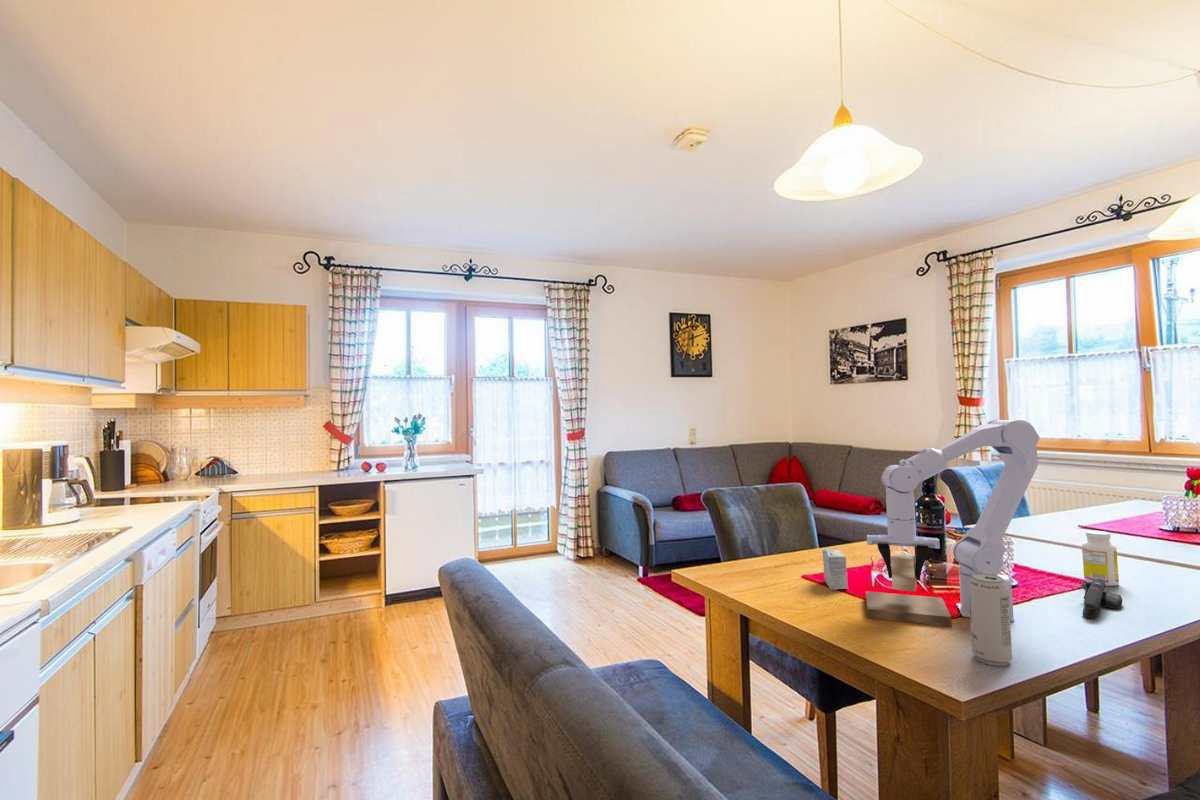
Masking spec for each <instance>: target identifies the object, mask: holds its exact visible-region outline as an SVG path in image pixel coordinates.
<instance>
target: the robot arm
mask: <svg viewBox="0 0 1200 800" xmlns="http://www.w3.org/2000/svg"><path fill="white" fill-rule="evenodd" d="M1040 439H1041V437H1040V435H1039V434H1038V432H1037V431H1036V429H1035V427H1034V426H1033V425H1032V423H1030V422H1028V421H1027V420H1024V419H1023V420H1022V419H1014V420H1013V419H1011V420H1010V419H1009V420H1008V419H1006V420H1005V419H998V418H997V419H991V420H989V421H988V422H987V423H983V424H980V425H978V426H976V427H974V428H973V429H971V430H970V431H969V432H966V433H964V434H962V435H961V436H959V437H958V438H956V439H954V440H952V441H951V442H948V444H946V445H944V446H942V447H940V448H938V449H936V448H933V447H928V448H925V447H922V448H920V449H919V450H917V451H918V453H917V454H915V455H912V456H911V457H909V458H907V459H905V458H903V459H900V460H899V465H898V464H893V465H892V464H891V465H888V466H887V467H886V468H885V469H884V471H883V472H882V475H881V476H880V480H881V482H882V484H883V485H884V487H885V502H886V503H885V504H886V505H885V506H886V522H887V523H886V524H887V534H867V535H866V544H867V546H873V545H876V546H877V549H878V552H879V553H880V556H881V558H882V559H883V561H884V564H885V567H886V569H887V575H888V579H892V568H891V557H892V555H891V546H896V547H897V546H898V547H912V548H913V547H914V556H915V574H916V581H921V575H922V571H923V567H924V566H925V565H924V564H925V562H926V560H927V558H928V556H929V554H930V549H929V548H931V549H936V550H937V549H938V550H939V549H941V545H940V539H939V538H937V537H929V536H928V537H926V536H917V526H916V525H917V524H916V510H915V496H914V492H915V491H914V490H915V489H916V488H917V487H918V485H919V483H922V482H924V481H925V480H928V479H930V478H931V477H933V476H936V475H937V474H940V473H941V472H943V471H945V470H947V469H946V468H947V465H948V462H950V461H953V460H955V459H957V458H960V457H962V456H964V455H965V454H968V453H971V452H972V451H974V450H977V449H979V448H983V447H991V448H992V449H993V450H995V452H997V453H998V454H999V456H1000V458H1001V459H1002V461H1003V463H1004V466H1003V468H1002V470H1001V472H1000V474H999V476H998V479H997V480H996V482H995V485H994V487H993V489H992V491H991V493H990V496H989V497H988V499H987V501H986V504H985V505H984V506H983V509H982V511H981V513H980V516H979V518H978V520H977V521H976V524H975V526H973V527H972V528H970V529H969V530H967V531H966V532H965V533H964V535H963V537H962V538H961V539H959V540H958V541H957V542H956V543H955V544H954V545H953V549H952V555H953V557H954V559H955V560H956V562H957V563H959V567H958V575H959V577H958V578H959V579H958V580H959V596H960V602H959V603H956V604H955V605H956V607H957V606H958V607H957V609H958V608H959V609H958V611H959V610H960V611H959V612H960V614H961V616H962V617H965V618H970V603H969V583H970V581H971V579H972V575H973V574H991V575H996V576H999V577H1002V578H1003V579H1004V583H1005V585H1006V586H1007V588H1008V591H1009V609H1010V622H1015V618H1014V605H1013V604H1014V603H1013V590H1012V582H1011V580H1010V577H1009V576H1008V575H1005V574H999V573H1000V572H1002V569H1003V567H1004V554H1005V552H1006V550H1007V548H1006V545H1005V542H1004V539H1003V538H1004V535H1005V534H1006V532H1007V529H1008V527H1009V526H1010V523H1011V522H1012V519H1013V518H1014V516H1015V513H1016V511H1017V509H1018V508H1019V505H1020V503H1021V501H1022V500H1023V497H1024V495H1025V493H1026V491H1027V489H1028V487H1029V486H1030V485H1029V484H1030V482H1031V481H1032V480H1033V476H1034V475H1035V473H1036V470H1037V468H1038V466H1039V465H1038V464H1039V461H1038V445H1037V444H1038V442H1039V441H1040Z"/></svg>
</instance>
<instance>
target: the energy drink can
mask: <svg viewBox="0 0 1200 800" xmlns="http://www.w3.org/2000/svg"><path fill="white" fill-rule="evenodd" d="M969 603H970V617H969V619H970V635H971V637H970V639H971V652H972V654H973V655H974V656H975V659H976V660H977V661H980V662H982V663H983V664H986V665H991V666H996V667H997V666H998V667H1005V666H1008V665H1009V663H1010V662H1011V661H1012V660H1013V647H1012V646H1013V645H1012V631H1011V621H1010V609H1009V591H1008V588H1007V586H1006V585H1005V583H1004V579H1003V578H1002V577H999V576H996V575H991V574H973V575H972V579H971V581H970V583H969Z"/></svg>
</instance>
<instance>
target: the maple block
mask: <svg viewBox="0 0 1200 800" xmlns="http://www.w3.org/2000/svg"><path fill="white" fill-rule="evenodd" d="M915 568H916V560H915V554H914V555H912V554H901V553H900V554H899V553H892V555H891V569H892V578H891V580H892V581H891V584H892V590H898V591H903V592H904V591H905V592H913V593H914V592H915V593H916V591H917V579H916V574H915Z"/></svg>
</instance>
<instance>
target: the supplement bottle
mask: <svg viewBox="0 0 1200 800" xmlns="http://www.w3.org/2000/svg"><path fill="white" fill-rule="evenodd" d="M1085 536H1086V538H1087V539H1086V540H1084V541H1083V542H1082V543H1081V552H1082V553H1081V554H1082V566H1083V579H1084V582H1092V581H1093V580H1094V579H1101V580H1103V581H1104V582H1105V587H1116V586H1118V585H1119V583H1120V579H1119V564H1118V551H1117V546H1116V545H1115V544H1114V543H1113V542H1111V541H1110V540H1111V533H1110V532H1107V531H1104V530H1103V531H1101V530H1086V531H1085Z"/></svg>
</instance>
